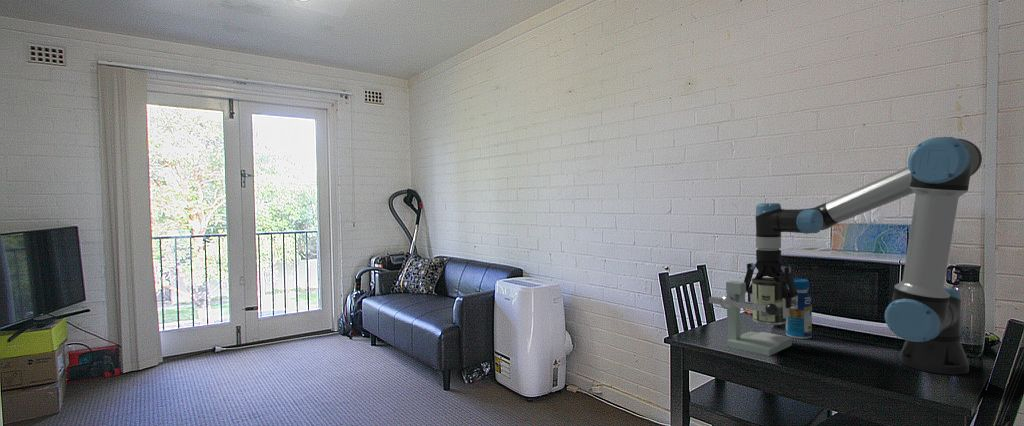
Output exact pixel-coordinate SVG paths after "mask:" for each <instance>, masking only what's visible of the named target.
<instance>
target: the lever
mask: <svg viewBox="0 0 1024 426" xmlns="http://www.w3.org/2000/svg"><path fill="white" fill-rule="evenodd" d="M708 303H709V304H715V305H720V307H722V308H721V309H724V310H727V309H729V308H732V307H738V308H740V309H745V310H749V311H750V310H756V311H762V312H766V313H767V314H769V315H775V314H777V312H778V307H777V306H776V305H775V304H768V305H763V304H757V303H750V302H748V301H745V302H744V301H737V300H734V299H733V298H732V297H731V296H727V295H726V296H723V297H716V296H710V297H708Z"/></svg>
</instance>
